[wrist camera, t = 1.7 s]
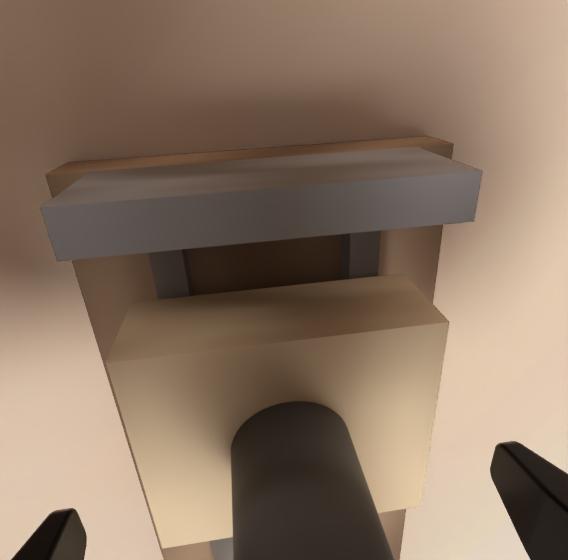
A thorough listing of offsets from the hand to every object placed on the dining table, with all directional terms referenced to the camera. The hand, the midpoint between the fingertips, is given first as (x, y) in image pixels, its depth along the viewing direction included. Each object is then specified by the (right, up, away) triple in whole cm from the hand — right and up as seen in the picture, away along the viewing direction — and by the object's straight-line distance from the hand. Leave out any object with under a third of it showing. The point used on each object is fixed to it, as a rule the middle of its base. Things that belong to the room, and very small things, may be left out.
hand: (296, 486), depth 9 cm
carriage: (0, +1, +3) cm, 3 cm away
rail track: (-1, -2, +8) cm, 8 cm away
